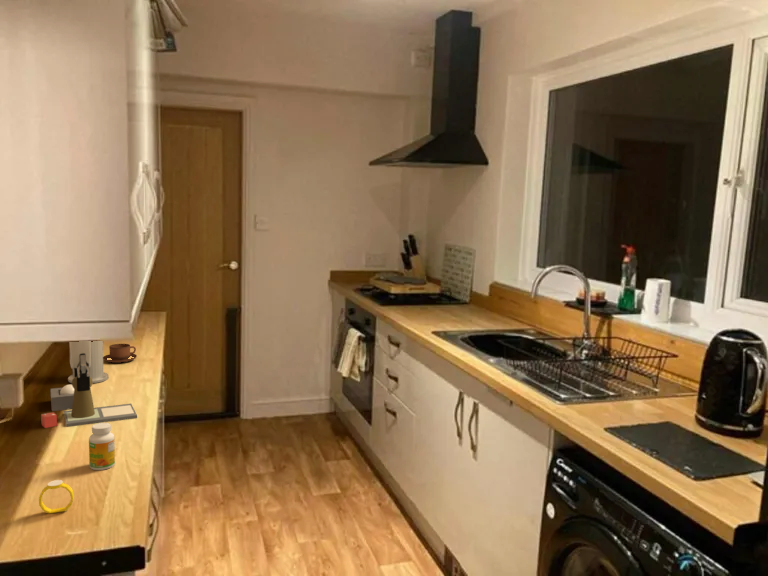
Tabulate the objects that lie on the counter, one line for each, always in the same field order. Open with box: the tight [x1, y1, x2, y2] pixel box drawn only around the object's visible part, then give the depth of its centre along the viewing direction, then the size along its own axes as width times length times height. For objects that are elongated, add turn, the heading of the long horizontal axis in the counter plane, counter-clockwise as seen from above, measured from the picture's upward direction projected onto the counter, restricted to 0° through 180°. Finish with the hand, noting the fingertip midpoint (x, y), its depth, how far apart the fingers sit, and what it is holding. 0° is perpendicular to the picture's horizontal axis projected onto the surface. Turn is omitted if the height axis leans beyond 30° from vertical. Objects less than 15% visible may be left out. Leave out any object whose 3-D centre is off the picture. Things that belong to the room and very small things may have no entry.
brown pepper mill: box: [71, 377, 95, 418], centre depth 179 cm, size 6×6×11 cm
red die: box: [40, 411, 58, 429], centre depth 173 cm, size 3×3×3 cm
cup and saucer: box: [103, 343, 138, 364], centre depth 245 cm, size 12×12×6 cm
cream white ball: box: [60, 383, 74, 395], centre depth 191 cm, size 5×5×5 cm
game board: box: [63, 403, 138, 428], centre depth 182 cm, size 12×18×1 cm, turn 119°
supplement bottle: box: [88, 422, 116, 471], centre depth 147 cm, size 5×5×10 cm
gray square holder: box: [50, 387, 74, 412], centre depth 192 cm, size 10×10×4 cm
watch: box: [38, 479, 75, 515], centre depth 125 cm, size 6×3×6 cm, turn 109°
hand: (82, 385), depth 179 cm, fingers open, 9 cm apart
